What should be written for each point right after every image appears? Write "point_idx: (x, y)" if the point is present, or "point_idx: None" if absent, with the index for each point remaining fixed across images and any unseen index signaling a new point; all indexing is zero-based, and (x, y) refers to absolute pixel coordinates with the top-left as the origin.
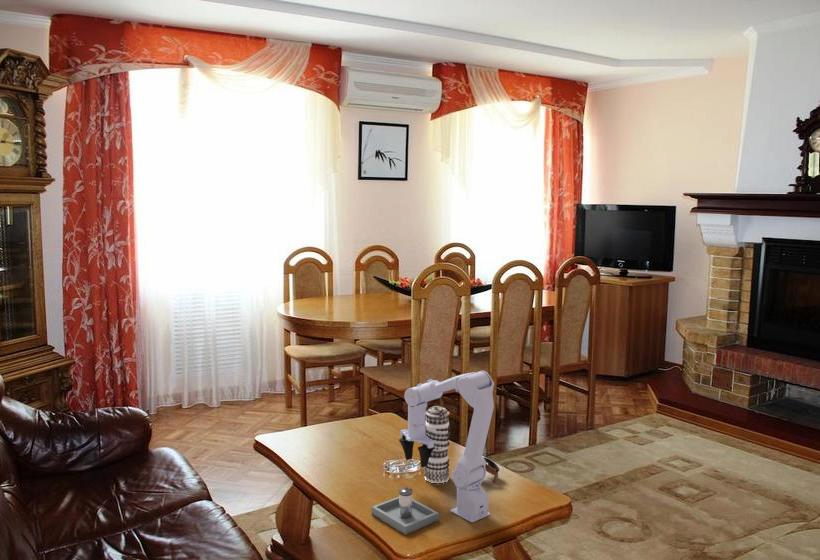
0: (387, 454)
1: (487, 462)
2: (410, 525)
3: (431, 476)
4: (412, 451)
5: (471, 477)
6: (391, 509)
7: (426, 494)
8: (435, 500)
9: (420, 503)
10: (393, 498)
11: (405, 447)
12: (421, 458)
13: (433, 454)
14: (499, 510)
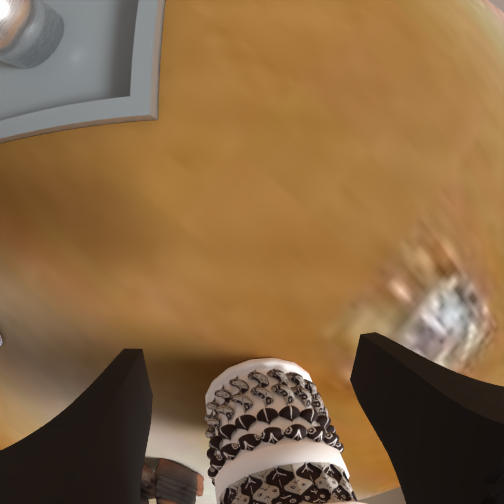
0: (497, 347)
1: None
2: None
3: (250, 388)
4: (376, 428)
5: None
6: (124, 7)
7: (155, 275)
8: (77, 267)
9: (11, 131)
10: (155, 30)
11: (446, 406)
12: (86, 405)
13: (258, 494)
14: None
